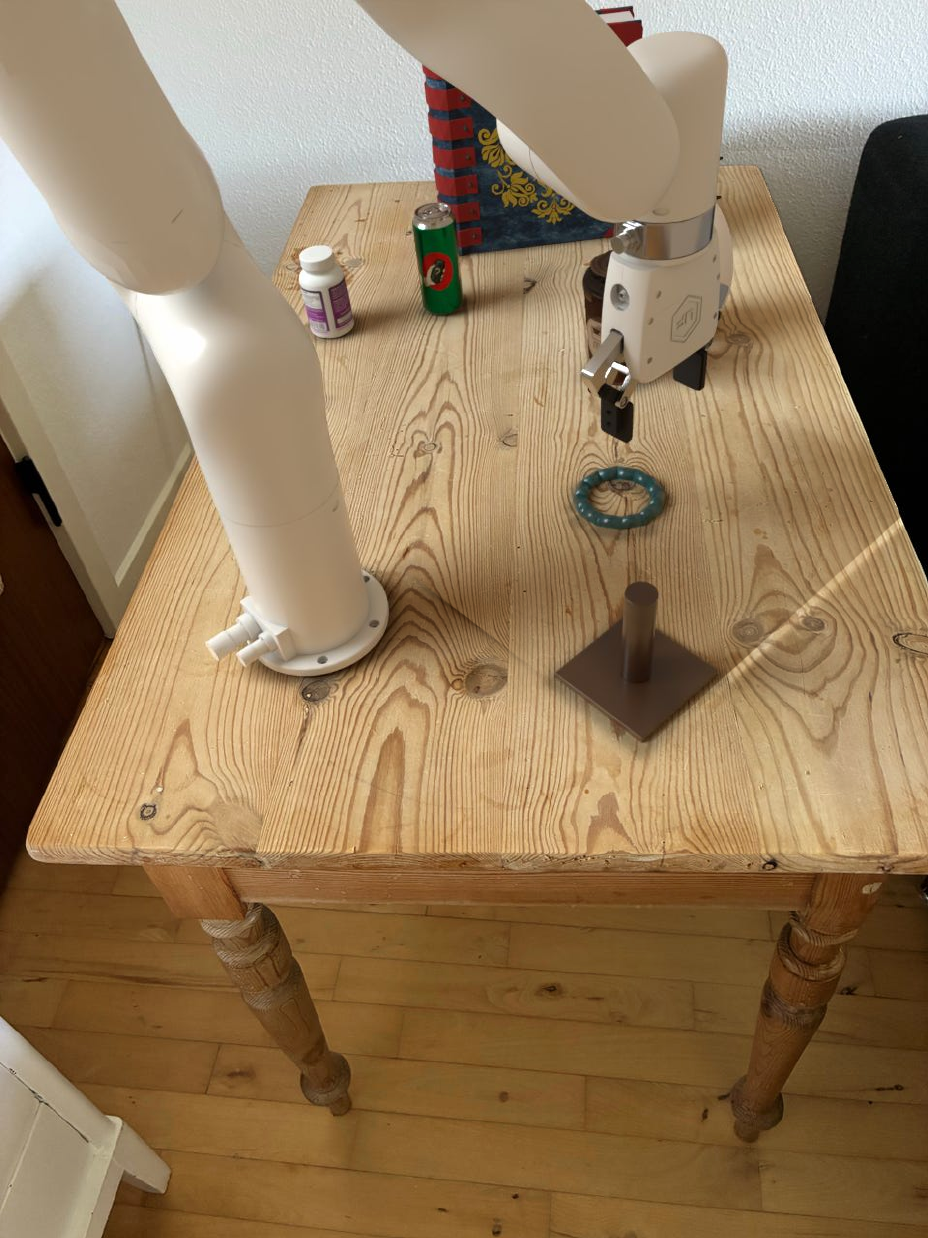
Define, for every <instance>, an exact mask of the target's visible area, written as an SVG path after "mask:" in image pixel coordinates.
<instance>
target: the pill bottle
mask: <svg viewBox="0 0 928 1238" xmlns="http://www.w3.org/2000/svg"><path fill="white" fill-rule="evenodd" d="M298 257H299V258H298V259H299V264H300V268H301V270H300V272H299V275H298V283H299V287H300V292H301V296H302V300H303V304H304V307H305V311H306V315H307V319H308V324H309V327H310V331H311V332H312V334H314V336H316V337H318V338H321V339H336V338H340V337H342V336H344V335H346V334H348V333H350V331H351V330H352V329H353V327H354V325H355V319H354V315H353V309H352V305H351V300H350V295H349V290H348V286H347V281H346V275H345V272H344V270H343V268H342V267H341V266H340V264H338V263H336V256H335V252H334V249H333V248H332V247H331V246H329V245H323V244H318V245H312V246H309V247H307V248H305V249H303V250H302V251H301V252H300V253H299V255H298Z"/></svg>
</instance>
